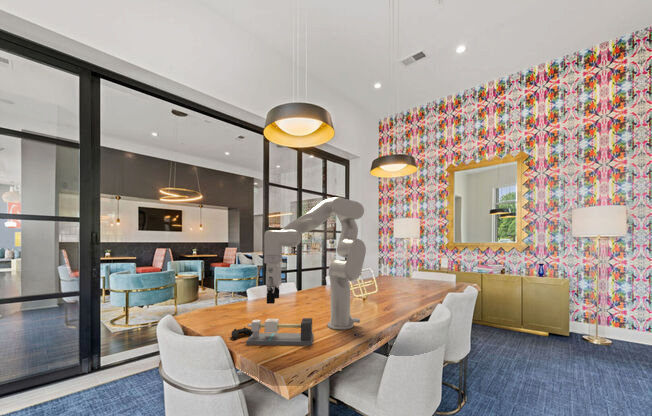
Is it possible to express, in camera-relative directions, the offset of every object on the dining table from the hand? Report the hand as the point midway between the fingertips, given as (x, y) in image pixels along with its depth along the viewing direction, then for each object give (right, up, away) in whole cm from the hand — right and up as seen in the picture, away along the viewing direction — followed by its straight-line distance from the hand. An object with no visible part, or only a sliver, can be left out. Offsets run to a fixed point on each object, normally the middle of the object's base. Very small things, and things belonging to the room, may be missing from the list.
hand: (273, 300), depth 121 cm
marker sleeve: (0, -12, -2) cm, 12 cm away
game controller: (-14, -17, +3) cm, 22 cm away
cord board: (+4, -16, -2) cm, 16 cm away
